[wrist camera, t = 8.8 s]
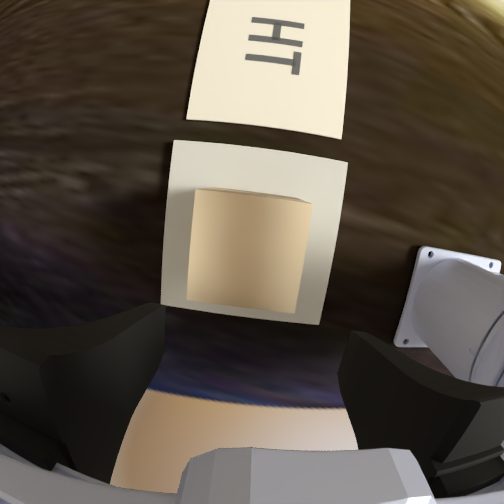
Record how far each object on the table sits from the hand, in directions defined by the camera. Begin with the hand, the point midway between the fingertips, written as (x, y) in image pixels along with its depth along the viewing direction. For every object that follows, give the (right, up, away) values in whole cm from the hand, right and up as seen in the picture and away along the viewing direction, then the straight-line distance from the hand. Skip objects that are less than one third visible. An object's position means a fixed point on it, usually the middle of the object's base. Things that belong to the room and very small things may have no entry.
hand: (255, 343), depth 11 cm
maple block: (0, +5, +8) cm, 9 cm away
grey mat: (0, +5, +9) cm, 10 cm away
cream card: (+1, +17, +6) cm, 18 cm away
